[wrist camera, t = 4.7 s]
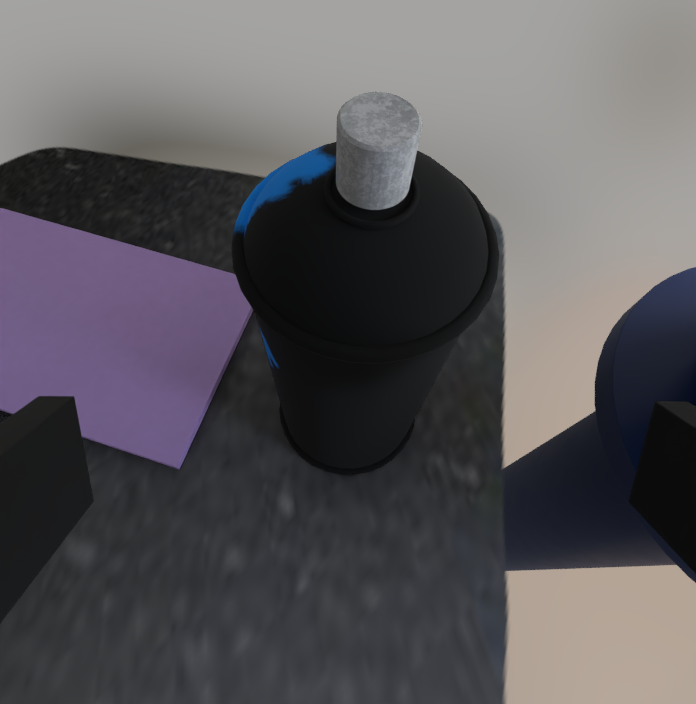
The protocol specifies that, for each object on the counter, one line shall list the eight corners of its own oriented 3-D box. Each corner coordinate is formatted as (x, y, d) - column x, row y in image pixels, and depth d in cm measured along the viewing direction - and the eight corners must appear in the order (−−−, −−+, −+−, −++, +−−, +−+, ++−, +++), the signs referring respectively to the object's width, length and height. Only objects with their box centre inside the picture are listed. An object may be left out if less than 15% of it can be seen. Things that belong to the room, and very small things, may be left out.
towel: (264, 286, 32) (263, 282, 32) (179, 469, 27) (176, 467, 26) (6, 213, 34) (0, 207, 34) (-123, 369, 29) (-132, 365, 28)
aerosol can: (437, 384, 30) (606, 81, 12) (376, 502, 26) (479, 340, 8) (323, 325, 31) (316, -23, 13) (253, 431, 28) (113, 162, 10)
